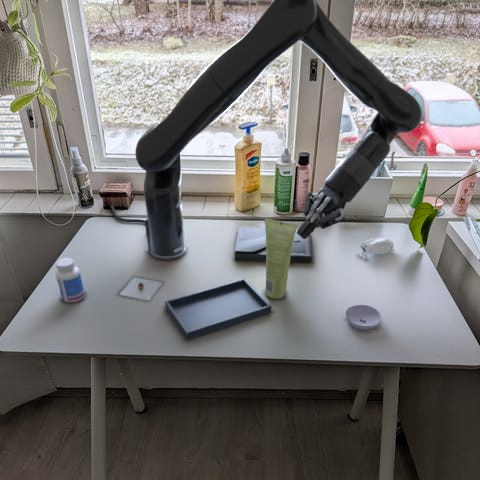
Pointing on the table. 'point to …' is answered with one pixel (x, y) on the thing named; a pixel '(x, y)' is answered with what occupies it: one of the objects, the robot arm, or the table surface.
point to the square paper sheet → (141, 288)
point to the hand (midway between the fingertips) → (300, 236)
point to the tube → (278, 256)
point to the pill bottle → (69, 280)
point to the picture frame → (254, 246)
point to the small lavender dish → (363, 317)
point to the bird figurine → (376, 246)
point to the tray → (216, 308)
